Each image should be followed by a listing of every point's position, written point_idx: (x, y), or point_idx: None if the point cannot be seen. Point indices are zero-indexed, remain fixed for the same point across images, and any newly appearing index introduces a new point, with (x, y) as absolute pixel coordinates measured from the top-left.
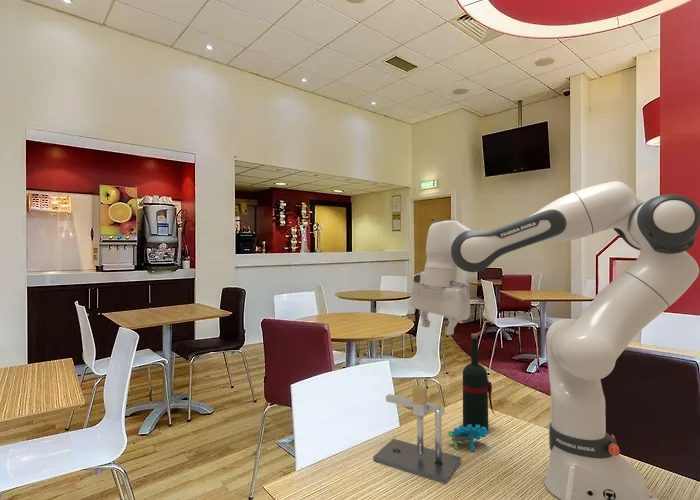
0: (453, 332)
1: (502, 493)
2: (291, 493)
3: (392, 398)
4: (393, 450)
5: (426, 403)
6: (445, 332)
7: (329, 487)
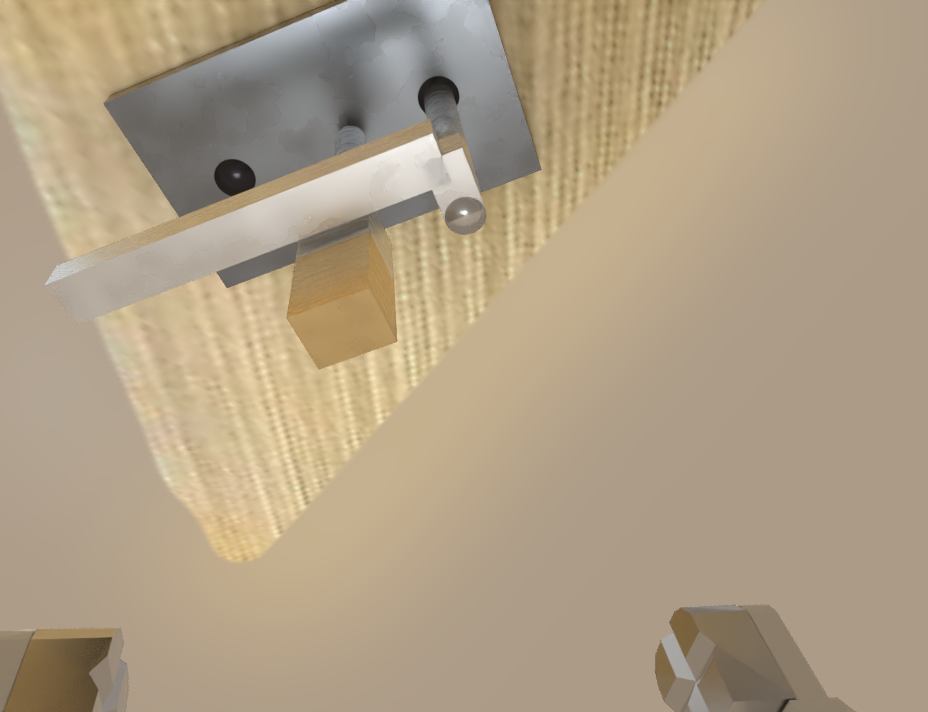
0: (783, 627)
1: (737, 22)
2: (275, 535)
3: (124, 303)
4: (225, 190)
5: (374, 239)
6: (676, 686)
7: (305, 459)
